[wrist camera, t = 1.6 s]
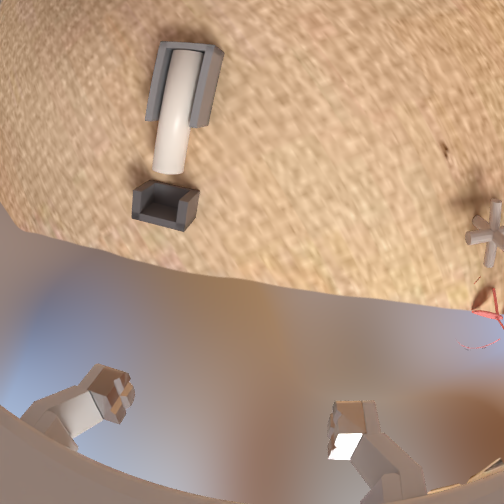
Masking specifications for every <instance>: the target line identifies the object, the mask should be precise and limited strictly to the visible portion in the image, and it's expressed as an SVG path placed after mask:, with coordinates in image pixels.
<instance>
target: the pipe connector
mask: <svg viewBox="0 0 504 504" xmlns="http://www.w3.org/2000/svg"><path fill="white" fill-rule="evenodd" d="M501 207H502V201H501V200H499V199H491V205H490V218H489V223H488V222H487V221H485V220H484V219H483V218H482V217H480V216H478V215H477V216H475V217H474V218H473V225H474V226H475V227H476V228H478V229H479V230H476V231H469V232H466V235H465V240H466V243H467V244H468V245H473V244H478V243H484V242H487V245H486V252H485V258H484V266H486V267H488V268H492V267H493V266H494V261H495V255H496V249H497V246H498V247H499V248H500V249H502V250H503V251H504V226H500V218H501Z"/></svg>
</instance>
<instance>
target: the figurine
mask: <svg viewBox="0 0 504 504" xmlns="http://www.w3.org/2000/svg"><path fill="white" fill-rule="evenodd" d="M480 277H481V276H480ZM480 277H479V278H480ZM476 282H477V281H476ZM476 282H475V283H476ZM475 283H474V284H475ZM492 290H493V296H494V302H495V309H496V313H492V312H488V311H481V310H475V311H472V313H474V314H477V315H480V316H483V317H487V318H491V319H496V320H498V321H499V323H500V325H501V326H502V328H503V329H504V326H503V324H502V323H501V322H500V320H499V319H503V317H502V316H501V315H499V312H498V305H497V298H496V292H495V288H493V289H492ZM486 346H487V345H486ZM483 347H484V346H483Z"/></svg>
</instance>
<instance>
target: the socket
mask: <svg viewBox="0 0 504 504" xmlns="http://www.w3.org/2000/svg"><path fill="white" fill-rule="evenodd" d="M199 193H200V191H197V190H193V189H189V188H184V187H180V186H175V185H170V184H166V183H161V182H156V181H152V180H149V181H148V182H146V183H144V184H142V185H141V186H139V187H137V188H136V189H134V190H133V202H132V219H136V220H140V221H144V222H148V223H152V224H156V225H159V226H163V227H167V228H171V229H175V230H179V231H183V232H184V231H185V230H186V229H187V228H188V226H189V225H190V224H191V223H192V221H193V220H194V219H195V218H196V212H197V205H198V199H199Z"/></svg>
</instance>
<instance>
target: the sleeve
mask: <svg viewBox="0 0 504 504" xmlns="http://www.w3.org/2000/svg"><path fill="white" fill-rule="evenodd" d="M173 50H190V51H196V52H201V53H204V59H203V63H202V67H201V71H200V76H199V80H198V85H197V89H196V94H195V99H194V104H193V109H192V114H191V119H190V124H189V127H192V128H200V127H204V126H208V124H209V119H210V114H211V109H212V105H213V100H214V95H215V91H216V86H217V82H218V78H219V73H220V69H221V65H222V61H223V57H224V52H223V51H222V50H220V49H219V48H218V47H217V46H215V45H210V44H199V43H186V42H166V41H161V42H160V46H159V50H158V54H157V58H156V63H155V67H154V72H153V77H152V82H151V87H150V92H149V98H148V104H147V110H146V116H145V121H157V120H159V117H160V111H161V105H162V100H163V95H164V89H165V84H166V80H167V75H168V70H169V66H170V61H171V57H172V53H173Z"/></svg>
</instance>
